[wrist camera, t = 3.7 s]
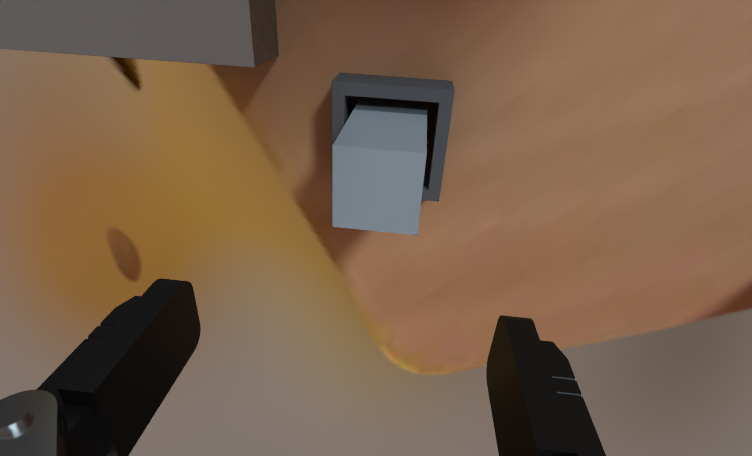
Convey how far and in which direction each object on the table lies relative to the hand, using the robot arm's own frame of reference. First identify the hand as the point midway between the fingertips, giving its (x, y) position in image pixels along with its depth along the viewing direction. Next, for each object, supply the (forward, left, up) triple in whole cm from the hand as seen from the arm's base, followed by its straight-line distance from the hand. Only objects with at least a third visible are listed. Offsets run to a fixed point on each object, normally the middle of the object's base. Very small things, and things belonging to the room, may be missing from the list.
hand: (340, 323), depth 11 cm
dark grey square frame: (0, 0, -18) cm, 18 cm away
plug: (0, 0, -18) cm, 18 cm away
